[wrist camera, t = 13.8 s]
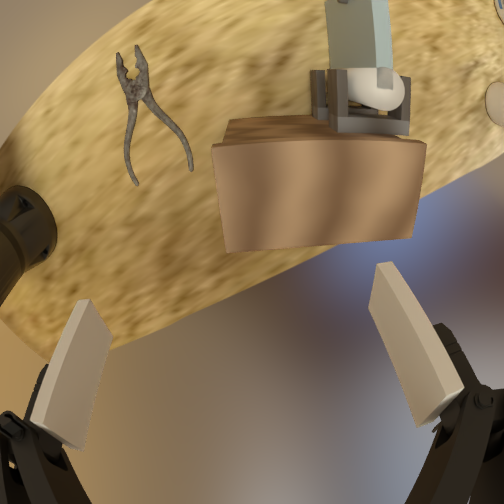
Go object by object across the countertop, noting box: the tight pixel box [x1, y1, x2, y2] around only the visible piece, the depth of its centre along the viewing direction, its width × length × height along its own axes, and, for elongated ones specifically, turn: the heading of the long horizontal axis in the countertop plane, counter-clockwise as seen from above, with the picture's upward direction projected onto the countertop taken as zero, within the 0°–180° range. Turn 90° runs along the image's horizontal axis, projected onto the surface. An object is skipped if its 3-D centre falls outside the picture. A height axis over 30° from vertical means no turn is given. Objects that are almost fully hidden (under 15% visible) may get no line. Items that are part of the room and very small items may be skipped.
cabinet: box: [211, 69, 427, 253], centre depth 27 cm, size 18×14×17 cm
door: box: [325, 0, 405, 111], centre depth 23 cm, size 4×14×14 cm, turn 5°
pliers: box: [116, 45, 193, 186], centre depth 33 cm, size 10×1×20 cm
